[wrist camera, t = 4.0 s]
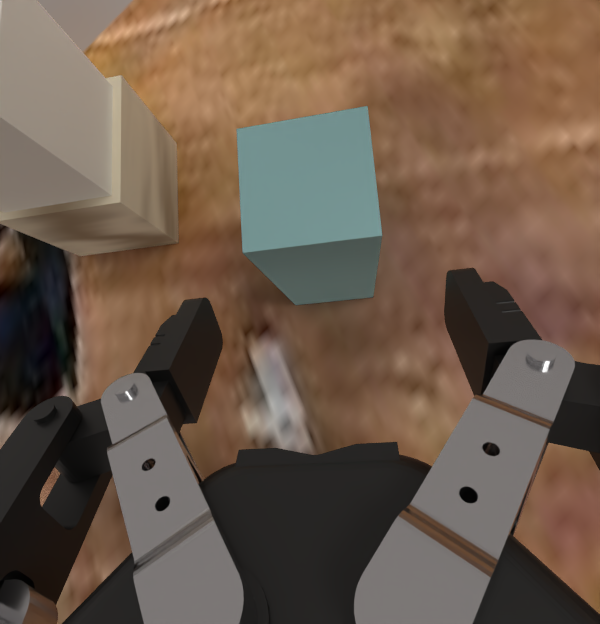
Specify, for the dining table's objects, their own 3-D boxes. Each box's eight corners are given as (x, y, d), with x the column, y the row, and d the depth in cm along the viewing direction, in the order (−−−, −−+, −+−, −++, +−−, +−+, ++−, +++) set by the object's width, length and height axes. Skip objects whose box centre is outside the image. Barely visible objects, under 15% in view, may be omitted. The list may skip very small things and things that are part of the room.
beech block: (177, 143, 25) (121, 75, 19) (179, 243, 24) (120, 202, 18) (83, 160, 26) (3, 99, 20) (80, 256, 25) (-6, 221, 19)
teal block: (365, 222, 22) (367, 105, 12) (373, 297, 21) (382, 235, 12) (290, 232, 23) (236, 129, 13) (295, 305, 22) (242, 252, 12)
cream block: (112, 86, 19) (4, -38, 13) (111, 195, 18) (-6, 112, 12) (11, 107, 20) (-133, 0, 14) (4, 212, 19) (-153, 142, 13)
